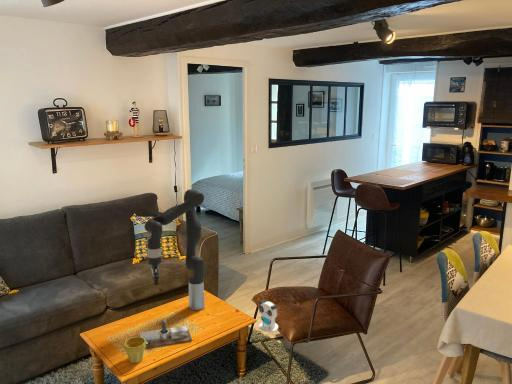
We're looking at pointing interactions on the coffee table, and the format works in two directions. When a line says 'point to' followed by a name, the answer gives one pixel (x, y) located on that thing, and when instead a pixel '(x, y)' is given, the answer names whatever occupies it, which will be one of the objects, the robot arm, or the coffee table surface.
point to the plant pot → (135, 349)
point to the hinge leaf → (155, 335)
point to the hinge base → (174, 341)
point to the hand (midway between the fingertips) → (155, 282)
